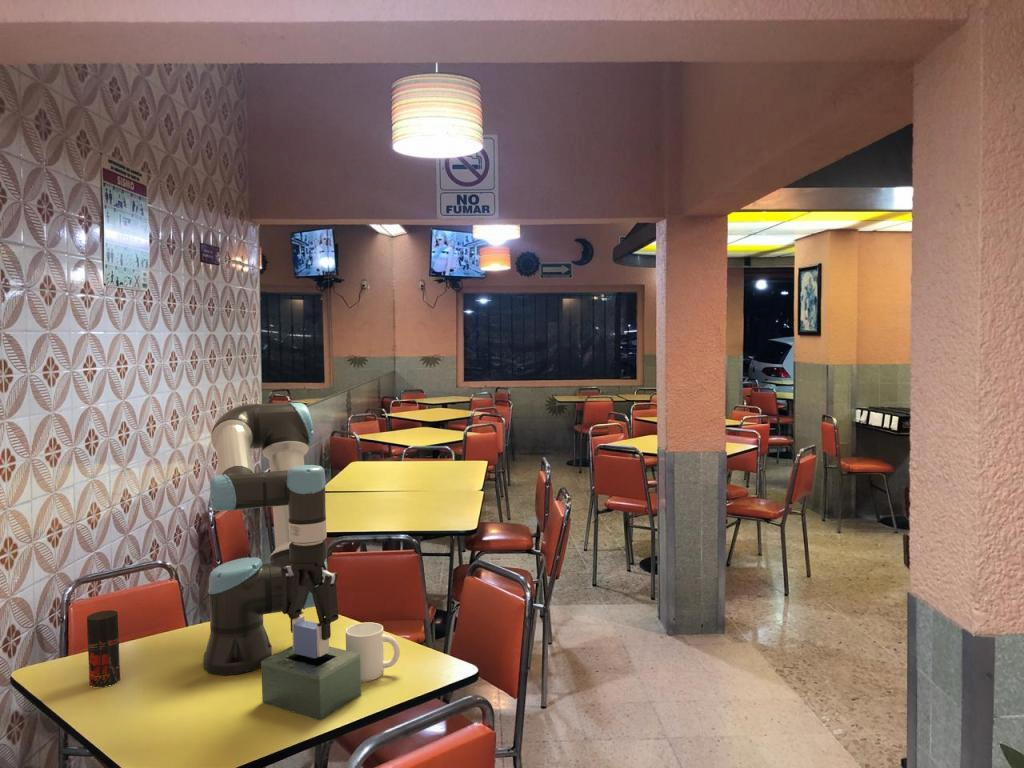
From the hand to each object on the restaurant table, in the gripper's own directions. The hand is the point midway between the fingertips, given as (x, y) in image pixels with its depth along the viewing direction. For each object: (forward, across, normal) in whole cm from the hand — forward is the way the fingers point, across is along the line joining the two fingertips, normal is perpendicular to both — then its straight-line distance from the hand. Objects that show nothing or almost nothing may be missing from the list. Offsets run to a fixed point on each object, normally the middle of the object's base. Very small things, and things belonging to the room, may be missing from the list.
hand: (310, 650), depth 153 cm
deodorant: (+10, -47, -15) cm, 50 cm away
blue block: (0, 0, 0) cm, 0 cm away
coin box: (+10, 0, 0) cm, 10 cm away
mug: (+10, +4, +15) cm, 19 cm away
